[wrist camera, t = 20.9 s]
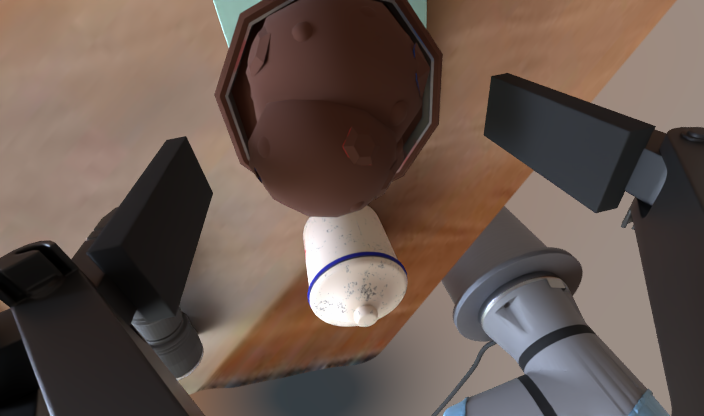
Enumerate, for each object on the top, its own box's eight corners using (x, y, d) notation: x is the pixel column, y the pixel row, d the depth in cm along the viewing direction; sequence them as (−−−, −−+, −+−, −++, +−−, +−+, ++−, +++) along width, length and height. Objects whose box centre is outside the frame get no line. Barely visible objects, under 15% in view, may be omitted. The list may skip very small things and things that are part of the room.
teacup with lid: (282, 234, 33) (287, 331, 24) (345, 180, 31) (377, 264, 22) (353, 281, 40) (378, 370, 31) (409, 239, 38) (454, 322, 28)
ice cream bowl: (371, 144, 27) (450, 269, 15) (235, 130, 24) (200, 274, 12) (406, 0, 21) (576, 21, 9) (233, -43, 18) (162, -92, 6)
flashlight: (110, 251, 30) (83, 295, 26) (171, 245, 31) (155, 286, 27) (160, 342, 39) (147, 386, 35) (206, 334, 40) (199, 376, 36)
